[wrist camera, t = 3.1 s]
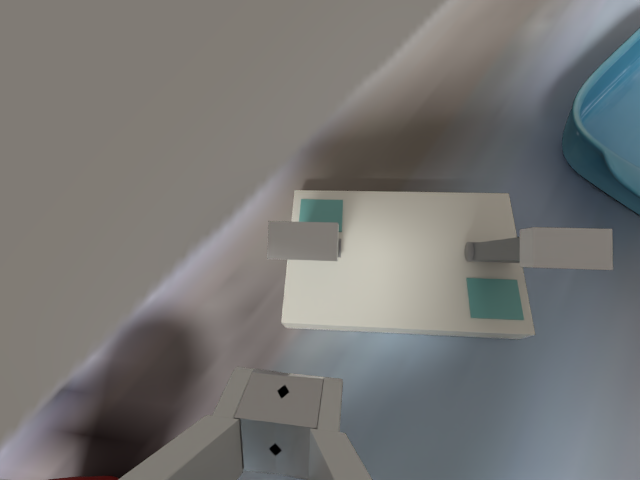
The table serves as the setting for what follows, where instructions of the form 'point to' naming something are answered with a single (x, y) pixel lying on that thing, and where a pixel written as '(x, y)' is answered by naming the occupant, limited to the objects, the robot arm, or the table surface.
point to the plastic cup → (89, 478)
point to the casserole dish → (609, 126)
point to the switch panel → (408, 266)
